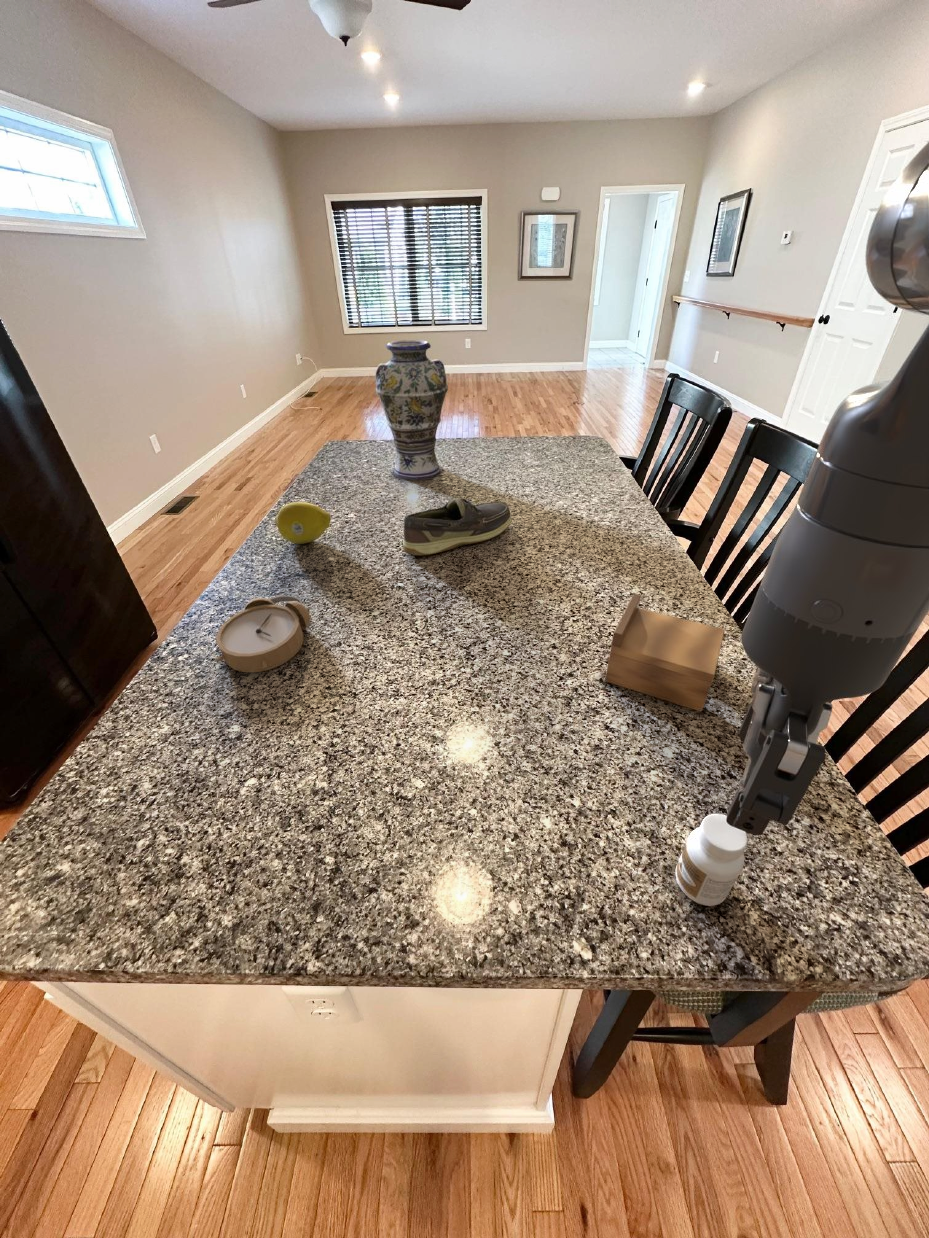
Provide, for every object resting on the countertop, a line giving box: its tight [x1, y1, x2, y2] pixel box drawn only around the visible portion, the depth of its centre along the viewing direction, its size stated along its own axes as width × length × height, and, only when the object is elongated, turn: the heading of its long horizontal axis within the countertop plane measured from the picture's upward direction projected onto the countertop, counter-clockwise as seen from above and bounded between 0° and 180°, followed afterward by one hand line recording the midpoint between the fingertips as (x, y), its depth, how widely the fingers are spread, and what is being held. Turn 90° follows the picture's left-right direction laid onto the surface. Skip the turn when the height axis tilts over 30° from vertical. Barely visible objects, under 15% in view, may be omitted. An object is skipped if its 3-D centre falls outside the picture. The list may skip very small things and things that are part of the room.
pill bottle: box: [674, 813, 748, 907], centre depth 43 cm, size 4×4×8 cm
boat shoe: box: [402, 497, 513, 556], centre depth 100 cm, size 9×25×8 cm, turn 130°
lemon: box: [274, 501, 331, 545], centre depth 100 cm, size 11×8×8 cm
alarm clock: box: [215, 595, 312, 673], centre depth 75 cm, size 11×5×15 cm
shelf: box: [604, 593, 726, 712], centre depth 66 cm, size 12×10×8 cm
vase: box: [374, 339, 449, 481], centre depth 126 cm, size 17×17×30 cm
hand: (748, 779), depth 38 cm, fingers open, 8 cm apart
